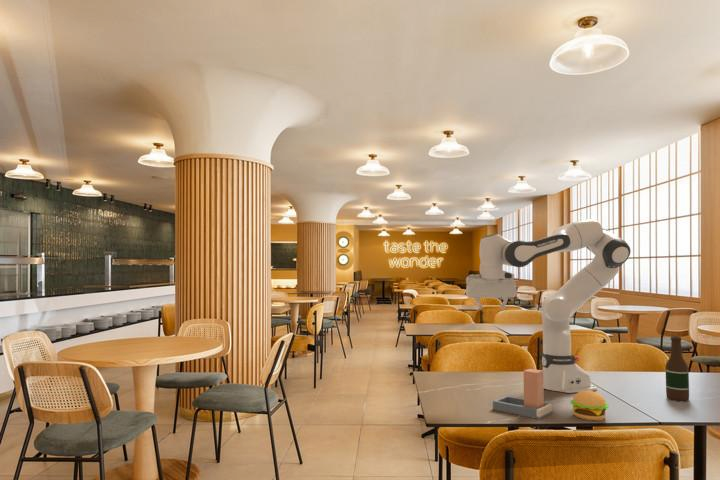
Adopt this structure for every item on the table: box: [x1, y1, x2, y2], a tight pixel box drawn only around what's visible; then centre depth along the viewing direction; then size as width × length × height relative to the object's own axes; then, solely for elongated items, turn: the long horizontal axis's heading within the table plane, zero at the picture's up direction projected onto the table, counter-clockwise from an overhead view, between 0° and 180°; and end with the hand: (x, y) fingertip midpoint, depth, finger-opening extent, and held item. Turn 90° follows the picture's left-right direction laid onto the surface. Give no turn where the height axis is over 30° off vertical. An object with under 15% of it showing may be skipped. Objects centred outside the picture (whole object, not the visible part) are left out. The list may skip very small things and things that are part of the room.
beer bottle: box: [665, 335, 690, 402], centre depth 200 cm, size 8×8×24 cm
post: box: [523, 368, 545, 408], centre depth 181 cm, size 5×5×14 cm
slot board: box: [492, 395, 553, 420], centre depth 183 cm, size 17×10×3 cm, turn 47°
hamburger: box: [570, 390, 610, 421], centre depth 177 cm, size 12×12×9 cm
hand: (491, 308), depth 207 cm, fingers open, 8 cm apart
